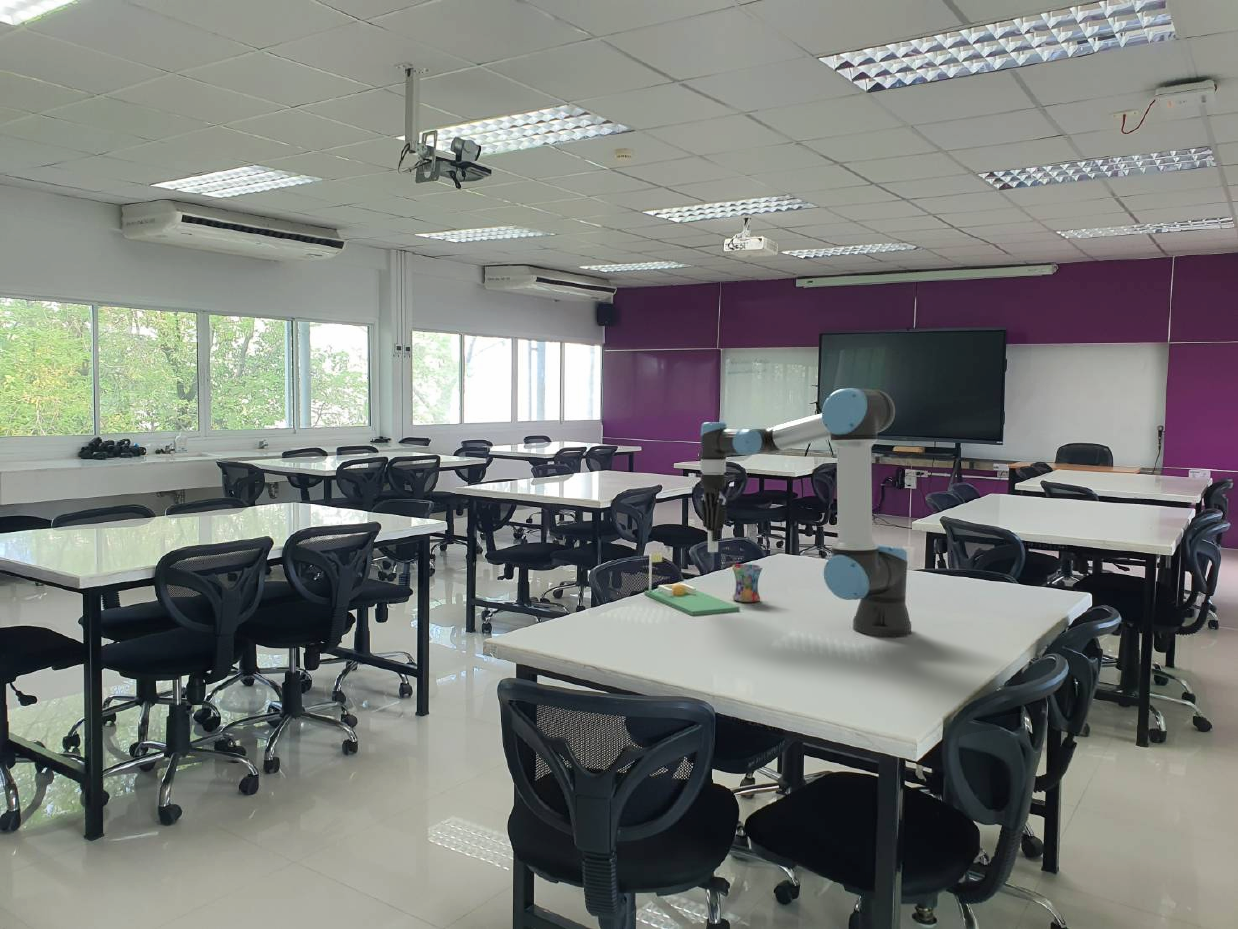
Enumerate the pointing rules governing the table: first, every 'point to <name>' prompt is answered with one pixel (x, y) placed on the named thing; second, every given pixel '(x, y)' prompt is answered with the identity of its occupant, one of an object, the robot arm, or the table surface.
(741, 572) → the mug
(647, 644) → the table surface
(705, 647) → the table surface
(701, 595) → the green
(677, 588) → the ball
